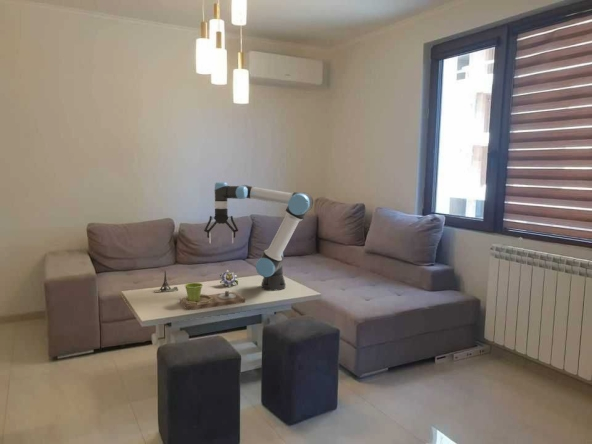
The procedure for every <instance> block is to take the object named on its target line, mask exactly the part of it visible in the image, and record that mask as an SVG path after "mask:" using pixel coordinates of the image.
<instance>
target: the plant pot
mask: <svg viewBox="0 0 592 444" xmlns="http://www.w3.org/2000/svg"><path fill="white" fill-rule="evenodd" d="M184 287H185V290H186V294H187V295H186V297H187V296H188V301H191V302H195V301H199V300H200V294H201V292H202V288H203V283H199V282H191V283H187V284H185V285H184Z"/></svg>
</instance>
